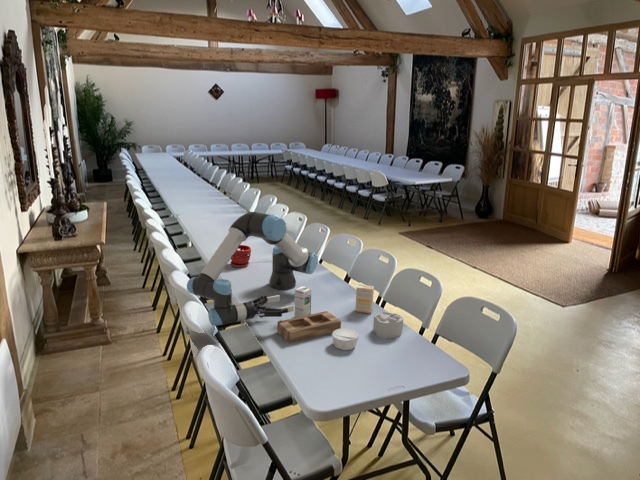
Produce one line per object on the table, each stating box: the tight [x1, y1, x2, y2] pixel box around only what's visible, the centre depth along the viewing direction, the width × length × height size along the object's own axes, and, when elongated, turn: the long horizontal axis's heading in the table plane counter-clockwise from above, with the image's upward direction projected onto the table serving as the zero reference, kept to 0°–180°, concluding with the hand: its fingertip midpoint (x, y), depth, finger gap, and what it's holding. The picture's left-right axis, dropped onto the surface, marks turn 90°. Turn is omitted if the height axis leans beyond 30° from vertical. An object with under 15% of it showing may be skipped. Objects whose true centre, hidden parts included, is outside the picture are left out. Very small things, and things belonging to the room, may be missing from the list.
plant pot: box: [229, 244, 252, 269], centre depth 296 cm, size 13×13×12 cm
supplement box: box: [355, 284, 375, 315], centre depth 235 cm, size 8×5×13 cm, turn 74°
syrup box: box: [294, 285, 312, 318], centre depth 226 cm, size 6×6×14 cm
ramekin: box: [331, 327, 359, 351], centre depth 201 cm, size 11×11×5 cm
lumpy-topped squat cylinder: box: [372, 310, 404, 339], centre depth 214 cm, size 10×13×9 cm
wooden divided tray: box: [276, 310, 342, 344], centre depth 212 cm, size 12×26×5 cm, turn 122°
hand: (286, 302), depth 221 cm, fingers open, 13 cm apart
